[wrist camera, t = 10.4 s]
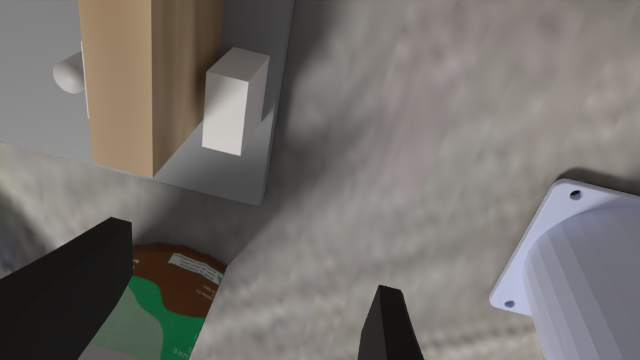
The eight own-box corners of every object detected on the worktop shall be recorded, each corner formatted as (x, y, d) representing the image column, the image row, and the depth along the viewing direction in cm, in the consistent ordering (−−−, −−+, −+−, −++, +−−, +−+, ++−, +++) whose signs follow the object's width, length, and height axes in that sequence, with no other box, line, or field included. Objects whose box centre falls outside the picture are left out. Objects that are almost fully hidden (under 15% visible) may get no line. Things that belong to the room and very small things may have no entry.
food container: (149, 184, 24) (13, 341, 16) (242, 252, 26) (164, 428, 17) (59, 295, 30) (-74, 452, 22) (139, 345, 32) (44, 509, 23)
